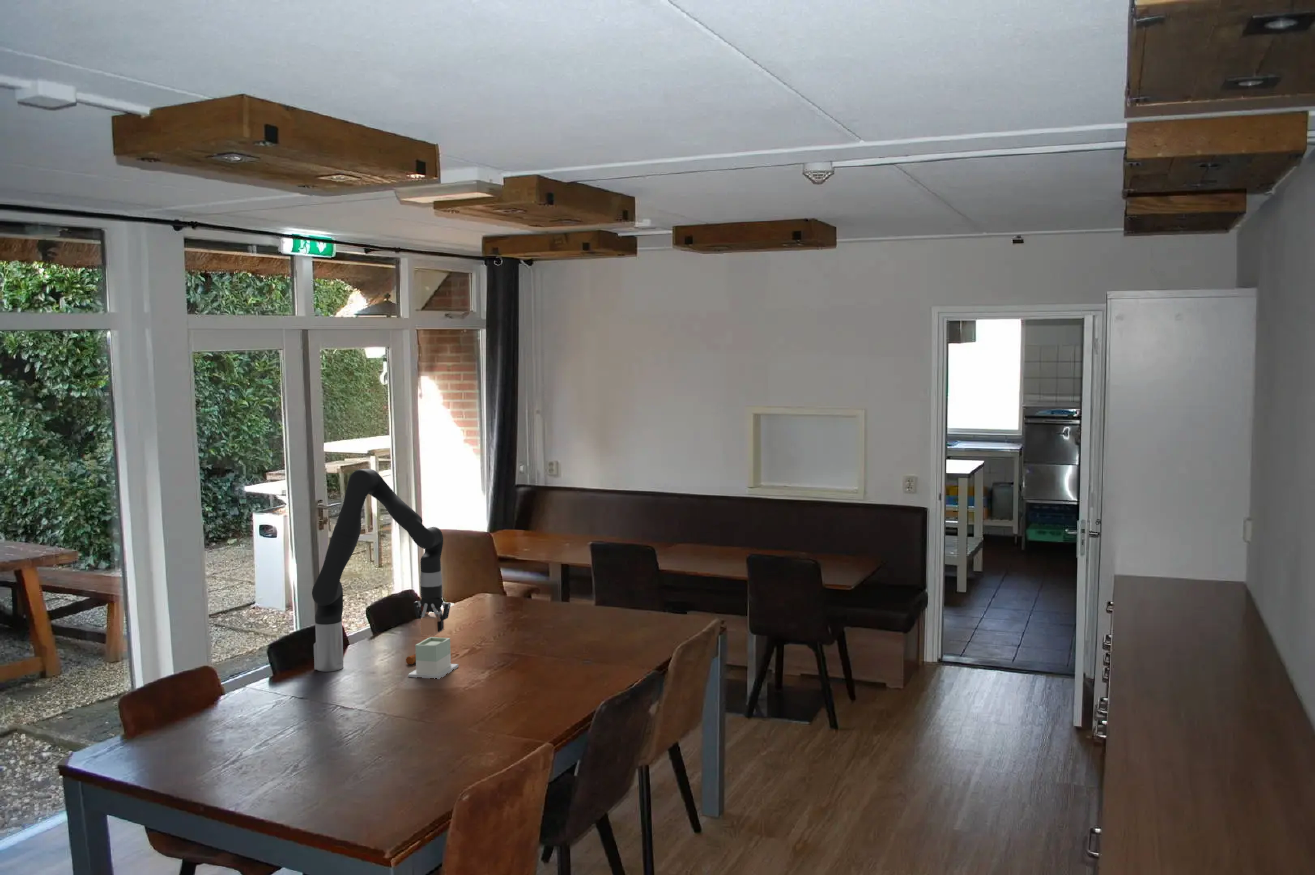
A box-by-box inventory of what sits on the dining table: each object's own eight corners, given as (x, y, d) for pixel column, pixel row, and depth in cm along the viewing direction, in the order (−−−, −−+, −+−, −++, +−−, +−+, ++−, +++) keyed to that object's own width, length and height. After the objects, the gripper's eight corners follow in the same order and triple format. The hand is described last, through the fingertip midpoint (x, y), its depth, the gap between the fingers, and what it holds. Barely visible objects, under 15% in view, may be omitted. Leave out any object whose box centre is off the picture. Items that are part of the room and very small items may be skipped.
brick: (434, 635, 370) (433, 619, 370) (421, 635, 372) (420, 618, 371) (444, 630, 378) (443, 613, 378) (431, 629, 379) (431, 612, 379)
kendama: (401, 653, 386) (434, 636, 404) (405, 669, 387) (438, 651, 405) (414, 652, 384) (447, 635, 401) (417, 668, 384) (450, 650, 402)
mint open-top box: (439, 679, 367) (438, 648, 366) (408, 676, 370) (407, 646, 369) (458, 667, 382) (457, 637, 381) (428, 664, 385) (427, 635, 384)
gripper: (454, 582, 375) (455, 629, 377) (417, 580, 379) (419, 627, 380) (444, 586, 368) (446, 634, 369) (407, 585, 372) (409, 632, 373)
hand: (432, 630), depth 375 cm, fingers closed on brick, 5 cm apart
